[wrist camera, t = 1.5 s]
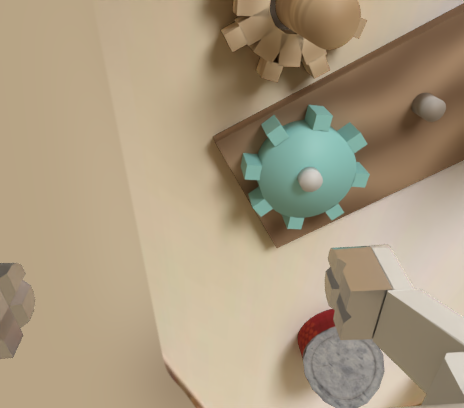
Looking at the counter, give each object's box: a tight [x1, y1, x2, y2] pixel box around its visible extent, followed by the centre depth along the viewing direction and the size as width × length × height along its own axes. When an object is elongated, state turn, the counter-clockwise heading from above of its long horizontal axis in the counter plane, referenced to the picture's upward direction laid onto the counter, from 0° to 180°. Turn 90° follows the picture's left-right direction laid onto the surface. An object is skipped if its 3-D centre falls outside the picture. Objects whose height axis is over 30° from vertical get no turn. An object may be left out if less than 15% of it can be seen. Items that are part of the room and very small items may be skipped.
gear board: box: [214, 3, 464, 248], centre depth 37 cm, size 14×24×4 cm, turn 117°
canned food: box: [298, 309, 384, 408], centre depth 51 cm, size 11×10×10 cm
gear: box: [241, 105, 370, 229], centre depth 36 cm, size 11×11×4 cm
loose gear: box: [221, 0, 367, 83], centre depth 27 cm, size 11×11×10 cm
